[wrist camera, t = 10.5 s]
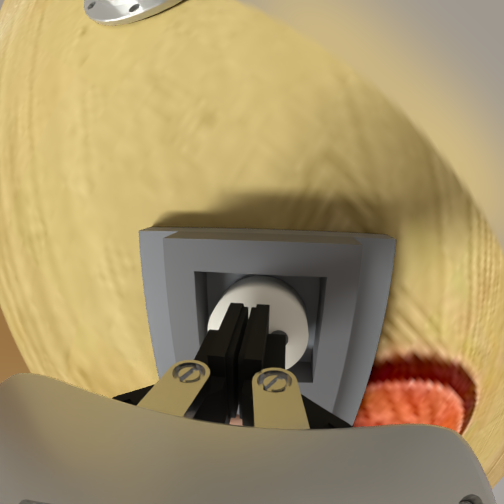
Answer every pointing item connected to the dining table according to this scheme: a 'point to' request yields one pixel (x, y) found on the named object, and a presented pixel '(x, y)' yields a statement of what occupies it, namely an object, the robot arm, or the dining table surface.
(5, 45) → the dining table surface
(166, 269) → the button board
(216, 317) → the button two
